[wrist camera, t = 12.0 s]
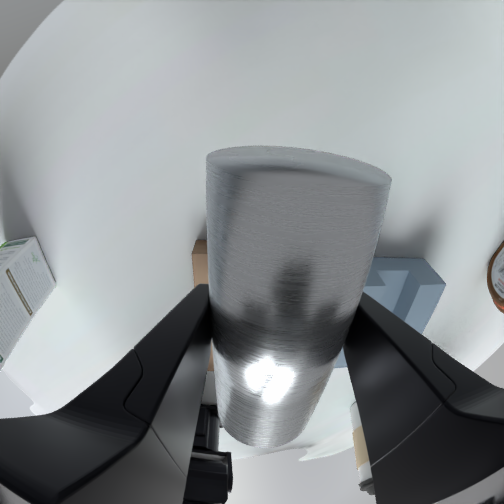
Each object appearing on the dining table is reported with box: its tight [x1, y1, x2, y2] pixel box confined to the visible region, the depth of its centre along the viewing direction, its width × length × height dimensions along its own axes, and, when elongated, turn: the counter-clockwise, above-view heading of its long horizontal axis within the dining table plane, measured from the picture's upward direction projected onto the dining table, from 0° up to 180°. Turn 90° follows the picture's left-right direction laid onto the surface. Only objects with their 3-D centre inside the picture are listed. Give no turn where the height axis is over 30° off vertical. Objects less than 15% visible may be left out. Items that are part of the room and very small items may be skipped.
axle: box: [206, 146, 392, 448], centre depth 8 cm, size 10×4×4 cm, turn 177°
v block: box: [334, 257, 446, 368], centre depth 22 cm, size 9×9×4 cm
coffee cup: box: [350, 402, 375, 495], centre depth 27 cm, size 9×9×15 cm
